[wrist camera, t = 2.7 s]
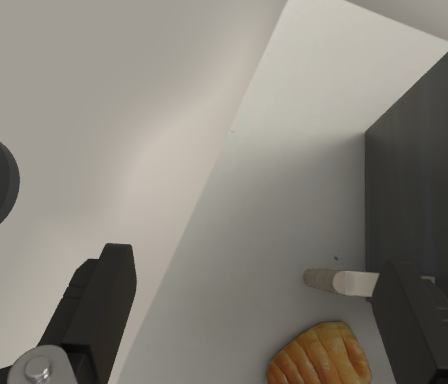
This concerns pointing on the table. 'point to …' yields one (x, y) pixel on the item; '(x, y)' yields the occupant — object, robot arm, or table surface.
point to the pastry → (321, 358)
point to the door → (404, 190)
